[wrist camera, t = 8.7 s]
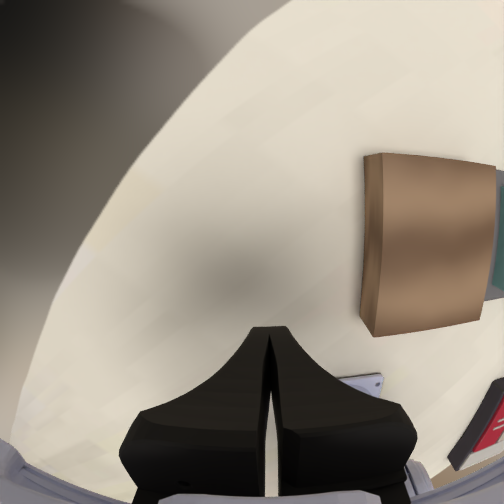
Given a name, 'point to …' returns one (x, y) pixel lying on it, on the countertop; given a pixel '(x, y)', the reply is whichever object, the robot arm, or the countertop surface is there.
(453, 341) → the countertop surface
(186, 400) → the robot arm
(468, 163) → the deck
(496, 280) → the block
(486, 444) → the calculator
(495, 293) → the mat
